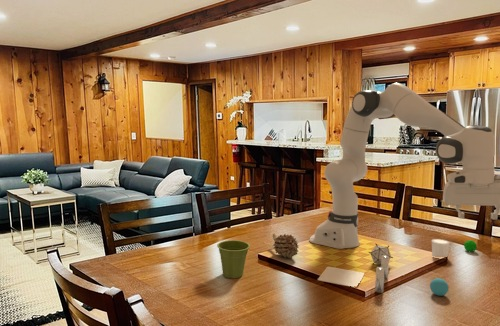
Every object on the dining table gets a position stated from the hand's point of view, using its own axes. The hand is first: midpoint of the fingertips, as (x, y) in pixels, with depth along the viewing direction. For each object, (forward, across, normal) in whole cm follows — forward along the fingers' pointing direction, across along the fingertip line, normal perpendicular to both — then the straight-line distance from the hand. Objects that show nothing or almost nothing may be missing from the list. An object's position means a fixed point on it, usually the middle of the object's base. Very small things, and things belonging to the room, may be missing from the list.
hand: (477, 218), depth 129 cm
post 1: (+24, +31, +8) cm, 40 cm away
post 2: (+24, +29, -4) cm, 38 cm away
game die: (+24, +30, -18) cm, 42 cm away
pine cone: (+22, +70, -17) cm, 75 cm away
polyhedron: (+28, -8, -47) cm, 55 cm away
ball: (+22, +12, +4) cm, 26 cm away
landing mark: (+23, +44, 0) cm, 49 cm away
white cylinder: (+26, +6, -34) cm, 43 cm away
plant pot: (+21, +82, +10) cm, 85 cm away
